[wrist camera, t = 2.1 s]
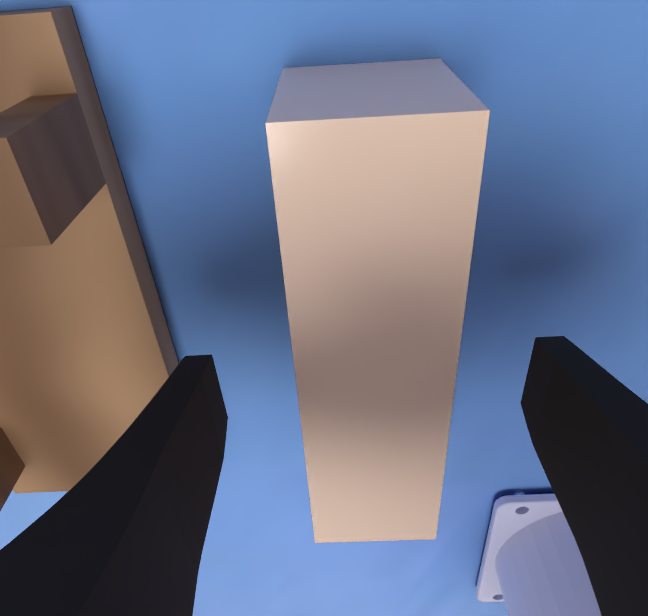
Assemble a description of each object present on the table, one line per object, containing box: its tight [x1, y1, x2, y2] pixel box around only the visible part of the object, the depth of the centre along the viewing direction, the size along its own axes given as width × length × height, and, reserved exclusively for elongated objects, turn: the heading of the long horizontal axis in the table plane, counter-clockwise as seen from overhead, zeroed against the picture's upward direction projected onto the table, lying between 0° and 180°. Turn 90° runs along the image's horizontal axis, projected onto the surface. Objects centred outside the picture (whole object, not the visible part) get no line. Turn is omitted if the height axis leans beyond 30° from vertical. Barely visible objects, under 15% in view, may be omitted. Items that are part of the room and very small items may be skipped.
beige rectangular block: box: [265, 58, 490, 543], centre depth 13 cm, size 4×12×4 cm, turn 3°
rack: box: [0, 6, 179, 511], centre depth 14 cm, size 7×15×4 cm, turn 4°
